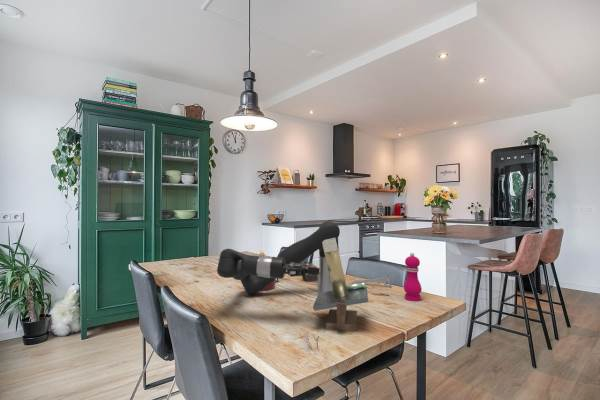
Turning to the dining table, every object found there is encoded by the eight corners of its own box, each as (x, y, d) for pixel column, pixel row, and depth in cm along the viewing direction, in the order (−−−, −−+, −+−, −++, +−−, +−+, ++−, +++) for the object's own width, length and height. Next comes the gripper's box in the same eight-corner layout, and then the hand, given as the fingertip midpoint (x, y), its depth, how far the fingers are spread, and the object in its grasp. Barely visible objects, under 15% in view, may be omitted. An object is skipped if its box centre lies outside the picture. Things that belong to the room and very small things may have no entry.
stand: (324, 332, 100) (324, 302, 100) (330, 311, 120) (330, 287, 120) (356, 334, 98) (356, 304, 99) (356, 313, 118) (356, 288, 118)
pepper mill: (401, 296, 139) (400, 251, 139) (417, 296, 139) (416, 251, 139) (408, 301, 131) (407, 254, 132) (424, 301, 132) (424, 253, 132)
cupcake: (307, 283, 163) (307, 264, 164) (298, 279, 172) (298, 261, 172) (322, 280, 169) (322, 262, 169) (312, 277, 177) (312, 259, 177)
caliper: (391, 288, 154) (391, 275, 154) (390, 288, 153) (390, 275, 153) (352, 282, 165) (352, 270, 165) (351, 283, 164) (351, 271, 164)
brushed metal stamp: (313, 310, 103) (300, 247, 104) (319, 296, 119) (307, 242, 120) (368, 302, 100) (353, 237, 101) (367, 288, 115) (354, 232, 116)
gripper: (275, 273, 120) (320, 278, 117) (265, 281, 106) (316, 286, 104) (276, 254, 120) (321, 257, 117) (267, 259, 107) (317, 264, 104)
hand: (318, 271), depth 110 cm, fingers closed
